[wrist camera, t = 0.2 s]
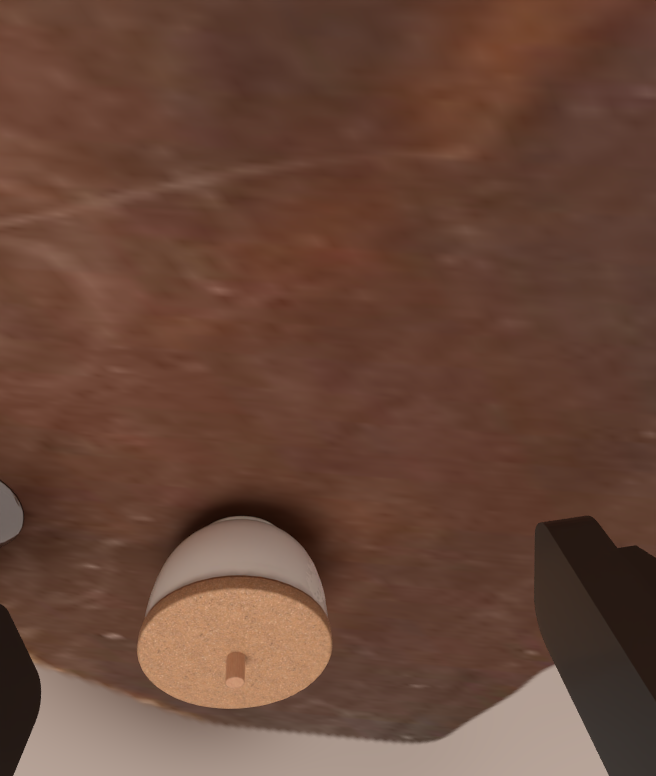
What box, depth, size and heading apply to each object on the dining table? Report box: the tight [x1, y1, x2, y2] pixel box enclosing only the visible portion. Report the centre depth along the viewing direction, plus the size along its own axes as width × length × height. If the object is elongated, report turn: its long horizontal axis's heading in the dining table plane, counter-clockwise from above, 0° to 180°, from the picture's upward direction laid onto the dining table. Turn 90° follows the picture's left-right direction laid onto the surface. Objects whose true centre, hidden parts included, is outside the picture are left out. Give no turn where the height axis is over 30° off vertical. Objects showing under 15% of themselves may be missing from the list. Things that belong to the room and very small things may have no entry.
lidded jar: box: [137, 516, 332, 709], centre depth 36 cm, size 11×11×9 cm
